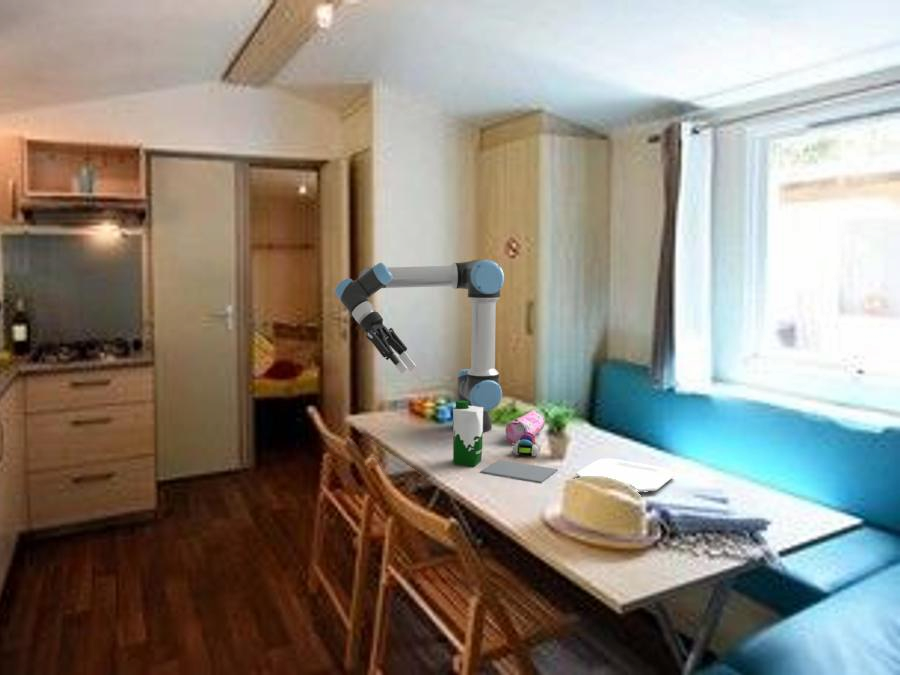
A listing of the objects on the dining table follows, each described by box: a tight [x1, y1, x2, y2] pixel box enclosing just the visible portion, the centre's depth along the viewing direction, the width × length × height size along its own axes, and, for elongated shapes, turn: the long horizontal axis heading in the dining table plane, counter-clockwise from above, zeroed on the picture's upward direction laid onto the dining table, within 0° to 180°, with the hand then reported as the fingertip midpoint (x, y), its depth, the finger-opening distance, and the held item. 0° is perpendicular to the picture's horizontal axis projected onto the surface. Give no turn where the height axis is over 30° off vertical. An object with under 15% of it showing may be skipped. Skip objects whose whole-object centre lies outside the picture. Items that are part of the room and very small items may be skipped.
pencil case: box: [505, 409, 546, 445], centre depth 258 cm, size 21×9×9 cm, turn 153°
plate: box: [575, 458, 676, 493], centre depth 212 cm, size 25×25×2 cm
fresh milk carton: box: [452, 399, 484, 468], centre depth 225 cm, size 9×9×20 cm
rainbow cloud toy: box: [512, 432, 542, 457], centre depth 238 cm, size 8×10×7 cm
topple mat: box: [479, 459, 559, 484], centre depth 218 cm, size 20×14×1 cm
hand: (409, 369), depth 234 cm, fingers open, 5 cm apart
